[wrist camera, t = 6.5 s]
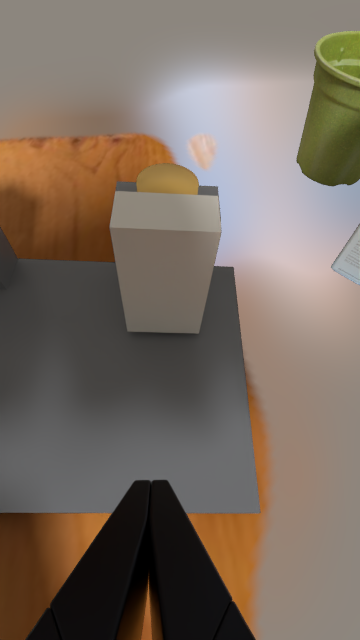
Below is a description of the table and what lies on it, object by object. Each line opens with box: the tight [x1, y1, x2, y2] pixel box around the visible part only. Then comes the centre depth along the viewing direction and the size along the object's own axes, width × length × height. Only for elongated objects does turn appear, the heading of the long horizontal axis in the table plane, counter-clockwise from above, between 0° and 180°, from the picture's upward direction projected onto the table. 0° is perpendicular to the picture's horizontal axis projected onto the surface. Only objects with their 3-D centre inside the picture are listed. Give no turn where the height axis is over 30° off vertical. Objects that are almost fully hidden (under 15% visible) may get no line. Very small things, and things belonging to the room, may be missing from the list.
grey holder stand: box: [0, 163, 260, 513], centre depth 15 cm, size 14×19×8 cm
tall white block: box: [110, 191, 221, 334], centre depth 15 cm, size 2×4×8 cm, turn 90°
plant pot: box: [297, 31, 360, 186], centre depth 27 cm, size 9×9×9 cm
